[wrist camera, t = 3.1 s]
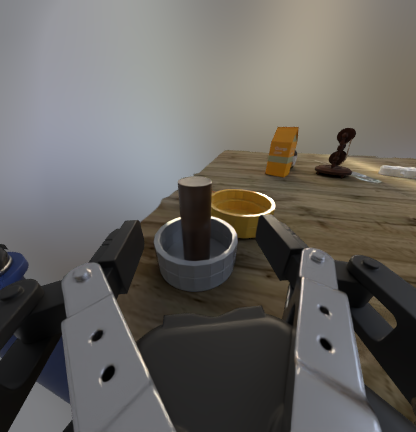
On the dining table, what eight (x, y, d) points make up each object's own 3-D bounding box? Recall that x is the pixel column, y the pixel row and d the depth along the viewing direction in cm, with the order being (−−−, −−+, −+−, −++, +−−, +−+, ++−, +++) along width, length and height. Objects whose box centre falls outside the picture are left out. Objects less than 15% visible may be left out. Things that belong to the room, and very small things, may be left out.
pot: (194, 311, 19) (192, 284, 17) (144, 258, 27) (138, 234, 24) (248, 258, 27) (253, 234, 25) (198, 228, 35) (198, 208, 32)
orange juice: (283, 177, 72) (296, 127, 62) (265, 173, 77) (273, 126, 67) (288, 174, 77) (301, 127, 67) (271, 171, 82) (280, 127, 72)
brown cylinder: (196, 270, 24) (193, 189, 18) (178, 256, 27) (170, 180, 20) (215, 256, 27) (219, 181, 20) (197, 244, 29) (196, 174, 23)
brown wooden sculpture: (347, 180, 69) (372, 128, 59) (310, 174, 77) (325, 127, 67) (351, 174, 78) (372, 128, 68) (317, 169, 87) (331, 127, 77)
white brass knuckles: (415, 173, 81) (437, 181, 70) (371, 169, 88) (383, 176, 76) (420, 167, 80) (442, 173, 68) (374, 163, 86) (387, 169, 74)
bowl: (248, 251, 29) (252, 225, 26) (194, 221, 37) (193, 200, 35) (280, 221, 38) (286, 200, 35) (231, 203, 47) (232, 185, 44)
